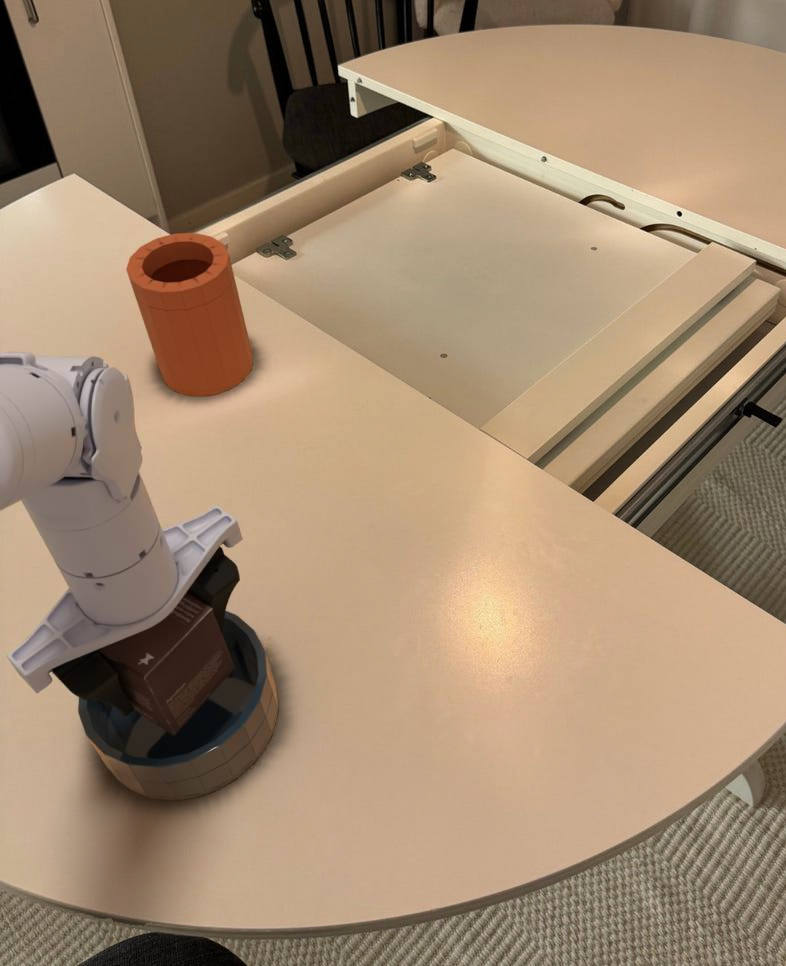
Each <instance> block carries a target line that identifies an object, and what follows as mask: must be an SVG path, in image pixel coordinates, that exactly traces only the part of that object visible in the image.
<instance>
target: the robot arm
mask: <svg viewBox="0 0 786 966" xmlns="http://www.w3.org/2000/svg"><path fill="white" fill-rule="evenodd" d="M135 417H136V416H135V402H134V395H133V390H132V385H131V382H130V379H129V375H128V374H123V373H122V372H121V371H120V370H119V369H118V368H116V367H113V366H109V365H108V363H106V362H105V363H104V359H103V358H102V357H100V356H89V355H87V356H85V355H81V356H80V355H35V354H34V353H33V352H30V351H6V352H1V353H0V512H1V511H4V510H5V509H7V508H9V507H11V506H13V505H15V504H16V503H19V502H21V503H22V505H23V507H24V509H25V510H26V513H27V514H28V516H29V517H30V519H31V521H32V523H33V525H34V526H35V528H36V529H37V532H38V534H39V535H40V537H41V539H42V541H43V543H44V544H45V546H46V548H47V550H48V552H49V553H50V555H51V557H52V559H53V561H54V563H55V565H56V567H57V569H58V570H59V572H60V574H61V576H62V577H63V579H64V581H65V583H66V585H67V586H68V589H67V590H66V591H65V592H64V594H63V595H62V596H61V597H60V598H59V599H58V601H57V602H56V603H55V605H53V607H52V608H51V609H50V610H49V611H48V613H47V614H46V615H45V616H44V618H43V619H42V620H41V621H40V622H39V624H38V625H37V626H36V627H35V629H34V630H33V631H32V632H31V633H30V634H29V635H28V636H27V638H26V639H24V640H23V641H22V642H21V643H20V644H19V645H17V647H15V648H13V650H11V651H10V652H9V653H8V654H6V659H8V661H9V662H10V664H11V665H12V666H13V669H15V672H16V673H17V674H18V675H19V676H20V677H21V678H22V679H23V681H24V682H25V683H26V684H27V685H28V686H29V687H30V688H31V689H32V690H33V691H34V693H36V694H39V693H40V692H42V691H43V690H44V689H46V688H47V687H48V686H49V685H51V684H52V682H53V678H52V675H51V673H52V674H53V675H54V676H55V677H56V678H57V679H58V681H60V682H61V683H62V685H63V686H65V687H66V688H67V690H68V691H69V692H70V693H72V694H73V695H74V696H75V697H77V698H78V699H79V698H81V699H83V700H88V699H94V700H100V701H103V702H106V703H108V704H110V705H112V706H114V707H115V708H116V709H117V710H118V711H119V712H120V713H121V714H122V715H123V716H127V715H128V714H130V713H131V712H132V711H133V710H134V707H133V704H132V703H131V702H130V700H129V699H128V698H127V696H126V695H125V694H124V692H123V691H122V688H121V686H120V683H119V680H118V673H117V672H116V671H115V670H114V669H113V668H112V667H111V666H110V665H109V664H108V663H107V662H106V661H105V660H104V659H103V658H102V657H101V656H100V654H99V652H98V651H96V650H97V649H100V648H102V647H105V646H107V645H110V644H112V643H114V642H117V641H119V640H122V639H124V638H127V637H129V636H131V635H134V634H136V633H139V632H141V631H144V630H146V629H148V628H150V627H152V626H154V625H156V624H157V623H159V622H160V621H162V620H163V619H164V618H166V617H167V616H168V615H169V614H170V613H171V612H172V611H173V609H174V608H175V607H176V606H177V604H178V603H179V602H180V600H181V599H182V597H183V596H184V595H185V593H186V592H187V593H188V594H190V595H192V596H194V597H195V598H197V599H199V600H200V601H202V602H204V603H205V604H207V605H209V606H210V607H211V608H212V609H213V613H214V616H215V618H216V620H217V623H218V625H219V628H220V631H221V633H222V636H223V627H224V617H225V611H227V607H228V603H229V601H230V598H231V595H232V594H233V591H234V589H236V587H237V585H238V583H239V582H240V581H241V576H240V572H239V568H238V566H237V564H236V562H235V561H233V560H232V559H231V558H230V557H228V556H227V555H226V554H225V552H224V549H223V547H221V546H222V545H224V547H225V548H228V549H231V548H233V547H235V546H236V545H237V544H240V542H241V541H243V540H244V539H243V535H242V532H241V529H240V525H239V522H238V519H237V518H235V517H234V516H232V515H231V514H230V513H229V512H228V511H227V510H225V509H224V508H223V507H221V506H220V505H219V504H215V505H214V506H213V507H211V508H210V509H208V510H206V511H205V512H202V513H201V514H199V515H197V516H195V517H192V518H190V519H188V520H185V521H183V522H179V523H177V524H175V525H171V526H169V527H166V528H164V529H163V528H162V526H161V524H160V521H159V518H158V515H157V512H156V510H155V507H154V505H153V502H152V500H151V498H150V496H149V492H148V490H147V487H146V485H145V482H144V480H143V477H142V475H141V472H140V469H141V467H142V463H143V455H142V449H143V447H142V445H141V441H140V440H139V439H140V438H139V436H138V434H137V430H136V429H137V428H136V419H135Z"/></svg>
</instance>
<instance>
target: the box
mask: <svg viewBox="0 0 786 966" xmlns="http://www.w3.org/2000/svg"><path fill="white" fill-rule="evenodd" d="M96 651H98V652H99V654H100V656H101V657H102V658H103V659H104V660H105V661H106V662H107V663H108V664H109V665H110V666H111V667H112V668H113V669H114V670H115V671H116V672H117V673H118V680H119V683H120V686H121V688H122V691H123V692H124V694H125V695H126V696H127V698H128V699H129V700H130V702H131V703H132V704H133V707H134V710H135V711H136V712H138V713H139V714H141V715H142V716H144V717H146V718H147V719H148V720H150V721H152V722H153V723H155V724H156V725H158V726H159V727H161V728H162V729H164V730H165V731H167V732H168V733H170V734H171V735H175V734H177V733H178V731H179V730H180V729H181V728H182V727H183V726H184V725H185V724H186V723H187V721H188V720H189V719H190V718H191V717H192V716H193V715H194V714H195V712H196V711H197V710H198V709H199V708H200V707H201V706H202V704H203V703H204V702H205V701H206V700H207V699H208V698H209V697H210V696H211V694H212V693H213V692H214V691H215V690H216V689H217V688H218V687H219V686H220V685H221V684H222V682H223V681H224V680H225V679H226V678H227V677H228V676H229V675H230V673H231V672H232V671H233V670H234V669H235V666H234V663H233V661H232V658H231V656H230V653H229V651H228V648H227V646H226V643H225V640H224V638H223V636H222V633H221V631H220V628H219V625H218V623H217V620H216V618H215V616H214V613H213V609H212V608H211V607H210V606H209V605H207V604H205V603H204V602H202V601H200V600H199V599H197V598H195V597H194V596H192V595H190V594H188V593H187V592H186V593H185V595H184V596H183V597H182V599H181V600H180V602H179V603H178V604H177V606H176V607H175V608H174V609H173V611H172V612H171V613H170V614H169V615H168V616H167V617H166V618H164V619H163V620H162V621H160V622H159V623H157V624H156V625H154V626H152V627H150V628H148V629H146V630H144V631H141V632H139V633H136V634H134V635H131V636H129V637H127V638H124V639H122V640H119V641H117V642H114V643H112V644H110V645H107V646H105V647H102V648H100V649H97V650H96Z"/></svg>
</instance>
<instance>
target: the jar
mask: <svg viewBox="0 0 786 966" xmlns="http://www.w3.org/2000/svg"><path fill="white" fill-rule="evenodd" d="M233 269H234V268H233V265H232V261H231V257H230V253H229V251H228V250H227V247H226V246H225V244H224V243H223V242H222V241H219V240H218V239H216V238H215V237H214V236H211V235H206V234H201V233H197V232H182V233H180V232H179V233H172V234H167V235H164V236H160V237H156V238H155V239H152V240H150V241H149V242H147V243H145V244H143V245H141V246H140V247H139V248H138V249H137V250H136V251H135V252H134V253H133V254H131V256H130V257H129V260H128V262H127V266H126V272H127V276H128V279H129V282H130V285H131V288H132V291H133V294H134V297H135V301H136V304H137V307H138V309H139V312H140V315H141V318H142V321H143V324H144V327H145V330H146V333H147V336H148V339H149V342H150V345H151V348H152V351H153V354H154V357H155V360H156V363H157V366H158V369H159V371H160V374H161V377H162V380H163V382H164V384H166V386H167V387H169V388H170V389H171V390H172V391H174V392H176V393H179V394H182V395H185V396H191V397H208V396H215V395H216V394H218V395H219V394H222V393H224V392H226V391H229V390H231V389H233V388H234V387H236V386H238V385H239V384H241V383H242V382H243V381H244V380H245V379H246V378H247V377H248V375H249V373H250V372H251V370H252V368H253V362H254V359H253V350H252V346H251V342H250V337H249V334H248V328H247V326H246V320H245V317H244V312H243V308H242V303H241V299H240V296H239V291H238V286H237V283H236V282H237V281H236V278H235V273H234V270H233Z"/></svg>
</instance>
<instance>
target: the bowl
mask: <svg viewBox="0 0 786 966" xmlns="http://www.w3.org/2000/svg"><path fill="white" fill-rule="evenodd" d="M223 638H224V640H225V643H226V646H227V648H228V651H229V653H230V656H231V658H232V661H233V663H234V666H235V669H234V670H233V671H232V672H231V673H230V675H229V676H228V677H227V678H226V679H225V680H224V681H223V682H222V684H221V685H220V686H219V687H218V688H217V689H216V690H215V691H214V692H213V693H212V694H211V696H210V697H209V698H208V699H207V700H206V701H205V702H204V703H203V704H202V706H201V707H200V708H199V709H198V710H197V711H196V712H195V714H194V715H193V716H192V717H191V718H190V719H189V720H188V721H187V723H186V724H185V725H184V726H183V727H182V728H181V729H180V730H179V731H178V733H177V734H175V735H171V734H170V733H168V732H167V731H165V730H164V729H162V728H161V727H159V726H158V725H156V724H155V723H153V722H152V721H150V720H148V719H147V718H146V717H144V716H142V715H141V714H139V713H138V712H136V711H135V710H133V711H132V712H131V713H130V714H128V715H127V716H123V715H122V714H121V713H120V712H119V711H118V710H117V709H116V708H115V707H114V706H112V705H110V704H108V703H106V702H103V701H100V700H94V699H88V700H83V699H81V698H79V697H78V703H77V704H78V705H77V712H78V716H79V719H80V723H81V725H82V727H83V730H84V734H85V736H86V738H87V739H88V741H89V743H91V745H92V746H93V748H94V749H95V751H96V752H97V755H98V756H99V757H100V759H101V760H102V762H103V763H104V766H106V768H107V769H109V771H110V773H112V774H113V775H114V777H115V778H116V779H117V780H118V782H120V783H121V784H122V785H123V786H125V787H126V788H128V789H129V790H131V791H133V792H135V793H137V794H139V795H141V796H144V797H148V798H151V799H157V800H163V801H179V800H180V801H181V800H189V799H193V798H197V797H201V796H205V795H207V794H210V793H213V792H215V791H217V790H219V789H221V788H223V787H225V786H227V785H228V784H231V782H233V781H235V780H236V779H237V778H239V777H240V776H241V775H243V774H244V773H245V772H246V771H247V770H249V768H250V767H251V766H252V765H253V764H254V763H256V761H257V760H258V759H259V757H260V756H261V754H262V753H263V752H264V750H265V748H266V747H267V745H268V744H269V742H270V740H271V737H272V735H273V733H274V730H275V727H276V724H277V720H278V719H277V718H278V714H279V713H278V712H279V699H278V691H277V685H276V681H275V678H274V675H273V671H272V669H271V665H270V662H269V659H268V656H267V653H266V650H265V648H264V646H263V643H262V642H261V639H260V638H259V636H258V634H257V632H256V631H255V629H254V628H252V626H250V624H248V623H247V622H245V620H243V619H242V618H241V617H240V616H239V615H238V614H235V613H234V612H231V611H228V610H226V611H225V617H224V627H223Z"/></svg>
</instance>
